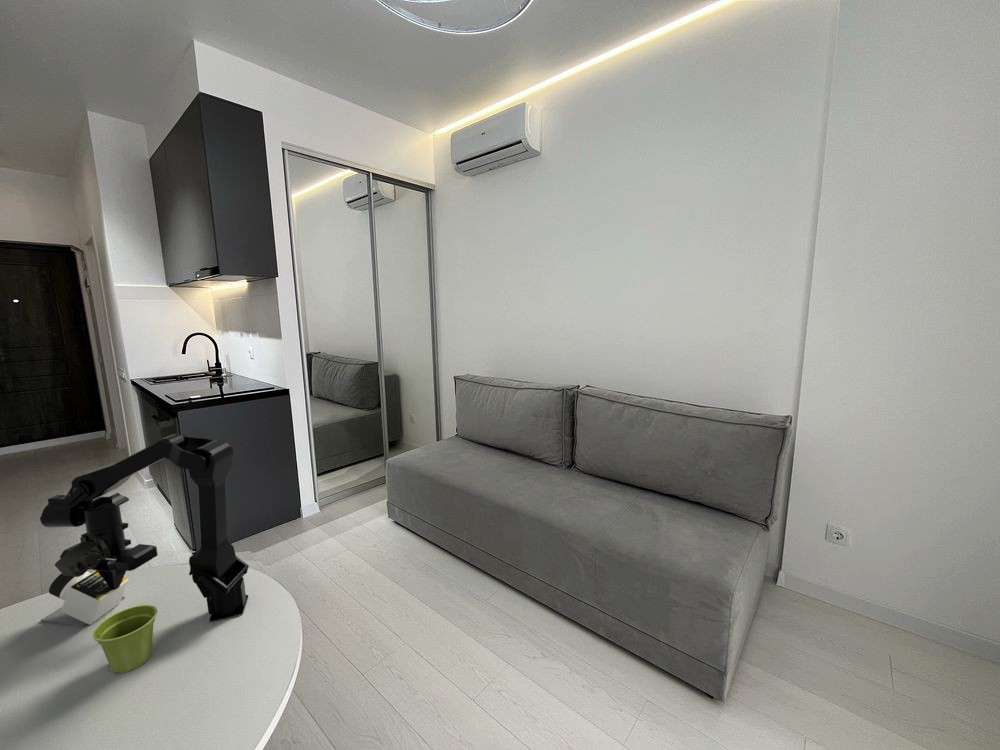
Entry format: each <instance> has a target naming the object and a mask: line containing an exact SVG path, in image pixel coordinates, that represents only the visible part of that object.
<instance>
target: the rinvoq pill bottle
mask: <svg viewBox="0 0 1000 750" xmlns="http://www.w3.org/2000/svg"><path fill="white" fill-rule="evenodd" d="M128 583H129V579H128V578H127V577H125V576H124V577H123V580H122V582H121V584H120V587H119V588H118V589H116V590H111V588H110V587H109V586H108V584H107V583H106V582H105V580H104V579H103V578H102V576H101V575H100V574H99V573H98V572H97V571H95V570H93V571H92V572H89V571H87V572H86V573H84V574H83V575H81V576H79V577H74V576H64V575H63V574H62V573H61V572H60V574H58V576H56V578H55V579H54V580H53V581H52V583H51V584H50V586H49V587H48V593H49V594H50V595H52V596H54V597H57V598H59V599H61V600H62V601H63V604H62V606H61V607H62V609H61V612H63V613H65V614H67V615H69V616H72V617H74V618H76V619H78V620H80V621H82V622H85V623H87V624H86V625H92V624H94V623H95V622H96V621H97V620H99V619H100V618H101V617H103V616H104V615H105V614H107V613H108V612H110V611H111V610H112V609H115V607H116V606H117V605H119V604H120V603H121V599H122V596H124V593H125V591H126V588H127V586H128Z"/></svg>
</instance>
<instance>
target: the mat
mask: <svg viewBox="0 0 1000 750" xmlns="http://www.w3.org/2000/svg"><path fill="white" fill-rule="evenodd" d="M125 598H126V597H125V595H123V596H122V599H121V601H123V600H124V599H125ZM121 601H120V602H121ZM61 609H62V606H61V607H60V608H58V609H57V610H55V611H52V612H51V613H49V614H48V615H46V616H44V617H43V618H41V619H40V622H41V623H49V624H57V625H64V626H65V625H66V626H74V627H81V628H82V627H83V626H86V625H88V624H87V623H85V622H82V621H80V620H78V619H76V618H74V617H72V616H69V615H67V614H65V613H63V612H61Z"/></svg>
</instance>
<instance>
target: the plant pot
mask: <svg viewBox="0 0 1000 750" xmlns="http://www.w3.org/2000/svg"><path fill="white" fill-rule="evenodd" d="M157 615H158V609H157V607H156V606H155V605H152V604H139V605H135V606H130V607H127V608H124V609H122V610H119V611H117V612H115V613H114V614H112V615H110V616H108V617H107V618H104V619H103V620H102V621H101V622H100V623H98V625H96V627H95V628H94V629H93V631H92V633H91V634H92V638H93V640H94V641H96V642H97V643H98V645H100V646H101V649H102V651H103V653H104V655H105V658H106V660H107V662H108V665H109V667H110V670H111V672H113V673H121V674H123V673H127V672H130V671H133V670H134V669H136V668H139V667H140V666H142V665H143V664H144V663H145V662H146V661H147V659H150V658H151V656H152V655H153V646H154V645H153V644H154V643H153V636H154V623H155V621H156V617H157Z"/></svg>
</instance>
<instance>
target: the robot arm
mask: <svg viewBox="0 0 1000 750" xmlns="http://www.w3.org/2000/svg"><path fill="white" fill-rule="evenodd" d="M233 457H234V449H233V446H232V445H230V444H229V443H228V442H227V441H225V440H222V439H212V438H209V437H199V436H198V437H197V436H188V435H185V434H181V433H180V434H179V433H173V434H170V435H168V436H165V437H163V438H160V439H158V440H157V441H156V442H155V443H153V444H151V445H149V446H147V447H145V448H143V449H141V450H139V451H137V452H134V453H133V454H132V455H129V456H127V457H126V458H124V459H121V460H119V461H116V462H112V463H109V464H106V465H102V466H100V467H98V468H96V469H93V470H90V471H88V472H86V473H83V474H81V475H78V476H76V477H74V478H73V479H72V480H71V483H70V484H71V487H70V489H69V490H68V492H67V494H65V495H64V494H57V495H56V494H55V495H54V496H51V497H49V498H47V503H48V504H47V505H45V507H44V508H43V509H42V512H41V516H40V518H39V520H40V523H41V524H42V526H43V527H46V528H74V527H76V528H77V527H81V526H83V525H85V533H82V534H81V535H80V536H81V537H80V538H79V539H80V542H79V543H77V544H73V545H72V546H70V547H67V548H66V549H64V550H63V551H62V553H61V555H60V556H59V557H60V559H58V560H57V561H56V562H55V563H54V566H55V568H56V569H57V570H58V571H59V572H60V574H61V573H62V574H63V575H64V576H74V577H79V576H81V575H83V574H84V573H86V572H88V571H89V570H91V571H97V572H98V573H99V574H100V575H101V576H102V578H103V579H104V580H105V582H106V583H107V584H108V586H109V587H110V588H111V590H116V589H118V588H119V587H120V584H121V582H122V580H123V577H124V578H125V575H126V573H127V571H128V572H131V571H134V570H136V569H138V568H139V567H141V566H143V565H144V564H146V563H148V562H149V561H151V560H153V559H155V557H158V553H159V552H158V548H157V545H152V544H143V543H139V544H137V545H135V546H133V547H128V546H130V545H132V539H126V537H125V531H124V530H125V529H128V528H129V523H128V522H123V519H122V513H121V507H120V506H121V505H123V504H125V503H127V502H129V501H130V498H129V497H128V496H125V495H122V494H121V493H120V492H116V493H114V494H112V495H110V496H105V495H106V494H108V493H110V492H112V491H114V490H117V489H118V488H120V487H121V486H122V485H123V484H124V483H126V482H128V480H129V479H130V478H131V477H132V476H133V475H134V474H136V473H138V472H140V471H142V470H145V469H146V468H148V467H150V466H152V465H154V464H156V463H158V462H159V461H162V460H164V459H166V460H169V461H170V462H172V463H173V464H174V465H175V466H176V467H179V468H182V469H186V470H188V475H189V477H190V479H191V480H192V481H193V482H194V484H195V485H197V489H198V490H197V491H198V496H197V497H198V515H199V517H198V518H199V537H200V538H199V539H200V548H199V549H198V550H196V552H194V553H193V554H192V555H191V556H190V557H189V559H188V564H189V568H190V569H189V573H188V575H189V576H191V578H192V581H193V583H194V584H195V585H196V586H197V589H198V590H199V592H200V593H201V595H202V597H203V598H205V599H206V604H207V605H206V606H207V612H208V615H209V616H210V617H209V621H208V622H210V623H212V622H216V621H221V620H225V619H229V618H232V617H237V616H240V615H241V616H242V615H243V614H244V613H245V608H246V605H247V602H248V599H249V595H248V594H246V588H245V587H246V585H245V578H244V577H245V575H246V574H247V573H248V571H249V564H248V563H247V562H245V561H244V560H242V559H241V558H240V557H239V556H237V555H236V552H235V547H234V545H233V544H232V542H230V541H229V540H228V536H227V535H228V533H227V531H228V530H227V529H228V528H227V504H226V503H227V501H226V480H227V477H228V475H229V472H230V470H231V468H232V463H233Z"/></svg>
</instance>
